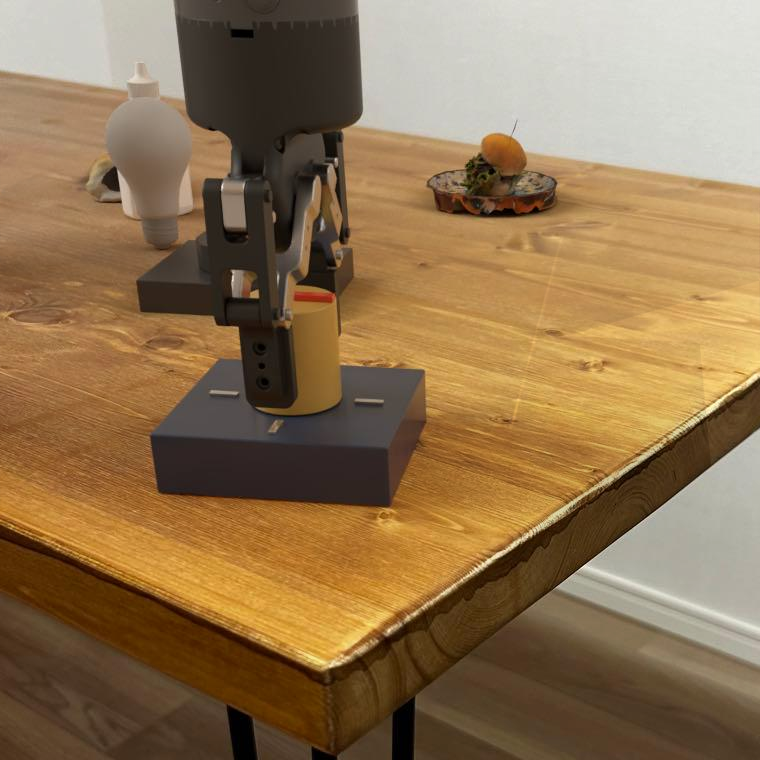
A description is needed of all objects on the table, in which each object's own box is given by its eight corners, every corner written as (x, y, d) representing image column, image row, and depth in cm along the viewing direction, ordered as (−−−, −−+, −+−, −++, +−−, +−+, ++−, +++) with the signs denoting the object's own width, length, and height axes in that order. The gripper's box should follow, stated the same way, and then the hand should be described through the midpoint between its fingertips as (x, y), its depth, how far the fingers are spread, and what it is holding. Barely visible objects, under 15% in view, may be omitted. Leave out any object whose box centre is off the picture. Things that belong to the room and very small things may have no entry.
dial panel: (157, 493, 56) (148, 430, 54) (224, 410, 64) (218, 354, 63) (390, 507, 55) (387, 445, 53) (426, 422, 64) (425, 366, 62)
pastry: (113, 179, 111) (107, 136, 109) (187, 180, 112) (182, 138, 110) (84, 202, 103) (78, 157, 101) (163, 204, 104) (158, 159, 102)
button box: (140, 312, 78) (131, 252, 76) (191, 269, 87) (185, 214, 85) (320, 322, 77) (316, 261, 75) (354, 277, 86) (351, 222, 84)
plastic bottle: (193, 219, 99) (175, 66, 93) (122, 221, 98) (99, 66, 92) (194, 207, 103) (177, 58, 97) (126, 209, 102) (105, 58, 96)
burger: (514, 181, 115) (515, 99, 111) (584, 208, 106) (587, 120, 102) (402, 194, 109) (400, 108, 105) (466, 223, 100) (465, 131, 97)
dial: (238, 413, 56) (227, 304, 54) (265, 379, 60) (255, 276, 58) (330, 418, 56) (322, 309, 54) (350, 384, 60) (345, 281, 57)
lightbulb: (205, 236, 95) (188, 90, 89) (203, 258, 89) (185, 104, 84) (124, 239, 93) (103, 91, 88) (117, 261, 88) (94, 105, 83)
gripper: (231, -12, 56) (263, 320, 64) (111, 18, 44) (169, 426, 52) (389, -7, 56) (401, 327, 63) (313, 24, 43) (340, 435, 51)
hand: (297, 371), depth 57 cm, fingers open, 8 cm apart
